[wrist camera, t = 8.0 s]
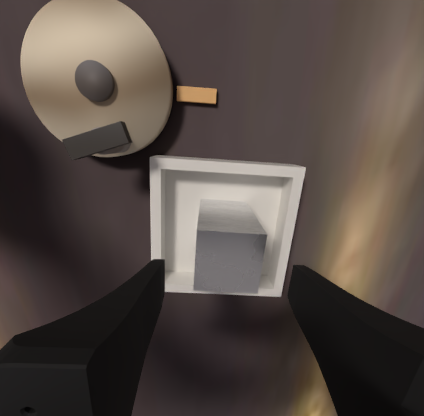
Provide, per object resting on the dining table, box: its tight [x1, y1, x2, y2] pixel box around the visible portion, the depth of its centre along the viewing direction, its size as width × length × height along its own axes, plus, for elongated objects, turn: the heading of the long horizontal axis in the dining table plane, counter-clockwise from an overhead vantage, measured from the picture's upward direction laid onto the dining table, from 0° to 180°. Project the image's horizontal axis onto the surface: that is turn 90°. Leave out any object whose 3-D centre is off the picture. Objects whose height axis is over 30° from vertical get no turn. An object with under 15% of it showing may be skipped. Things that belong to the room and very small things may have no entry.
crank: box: [21, 0, 173, 160], centre depth 14 cm, size 10×10×5 cm
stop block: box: [193, 199, 267, 294], centre depth 16 cm, size 4×4×7 cm
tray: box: [150, 155, 306, 297], centre depth 19 cm, size 12×12×2 cm
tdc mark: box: [177, 86, 217, 104], centre depth 17 cm, size 3×1×1 cm, turn 86°
